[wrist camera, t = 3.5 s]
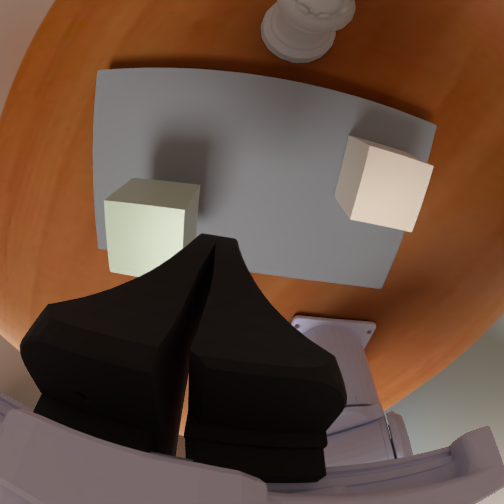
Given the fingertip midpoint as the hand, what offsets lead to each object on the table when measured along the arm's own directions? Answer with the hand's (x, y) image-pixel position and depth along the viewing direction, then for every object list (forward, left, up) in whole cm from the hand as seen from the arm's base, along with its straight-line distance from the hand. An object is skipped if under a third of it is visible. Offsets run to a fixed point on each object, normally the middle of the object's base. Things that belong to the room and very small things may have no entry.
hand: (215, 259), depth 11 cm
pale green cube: (-1, +4, -6) cm, 8 cm away
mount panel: (+1, -1, -10) cm, 10 cm away
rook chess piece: (+11, -2, -10) cm, 15 cm away
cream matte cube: (+3, -8, -9) cm, 12 cm away
